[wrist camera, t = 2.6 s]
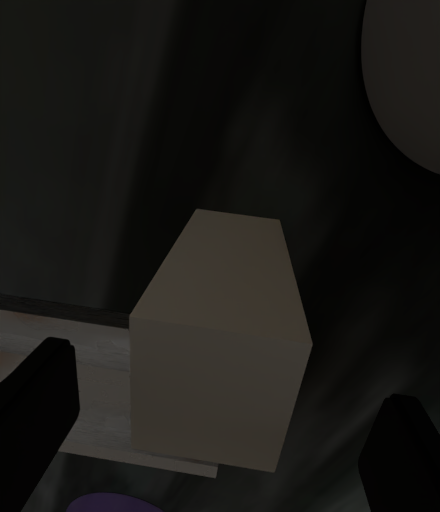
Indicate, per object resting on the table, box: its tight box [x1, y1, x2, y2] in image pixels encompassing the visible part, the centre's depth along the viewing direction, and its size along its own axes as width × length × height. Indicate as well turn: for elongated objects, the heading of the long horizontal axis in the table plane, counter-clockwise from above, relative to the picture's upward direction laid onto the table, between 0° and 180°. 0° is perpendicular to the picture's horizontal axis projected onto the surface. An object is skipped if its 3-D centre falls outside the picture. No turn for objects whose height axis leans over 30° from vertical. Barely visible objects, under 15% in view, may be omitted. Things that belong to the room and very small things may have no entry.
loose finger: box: [129, 209, 313, 473], centre depth 13 cm, size 4×6×10 cm
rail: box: [0, 294, 218, 478], centre depth 21 cm, size 12×26×3 cm, turn 84°
